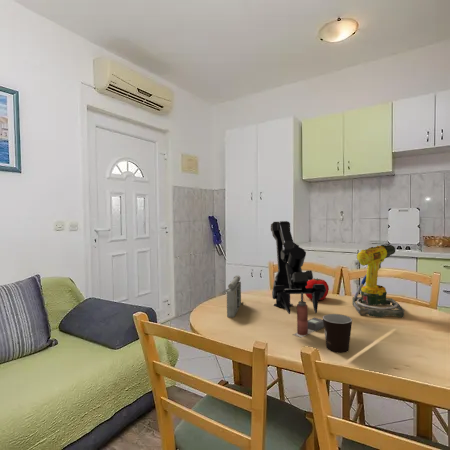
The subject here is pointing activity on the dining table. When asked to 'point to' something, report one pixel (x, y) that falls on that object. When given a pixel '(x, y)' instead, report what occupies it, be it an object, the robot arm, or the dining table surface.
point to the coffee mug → (337, 332)
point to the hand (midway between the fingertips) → (302, 313)
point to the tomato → (317, 281)
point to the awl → (302, 317)
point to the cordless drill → (375, 285)
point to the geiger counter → (233, 296)
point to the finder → (315, 324)
